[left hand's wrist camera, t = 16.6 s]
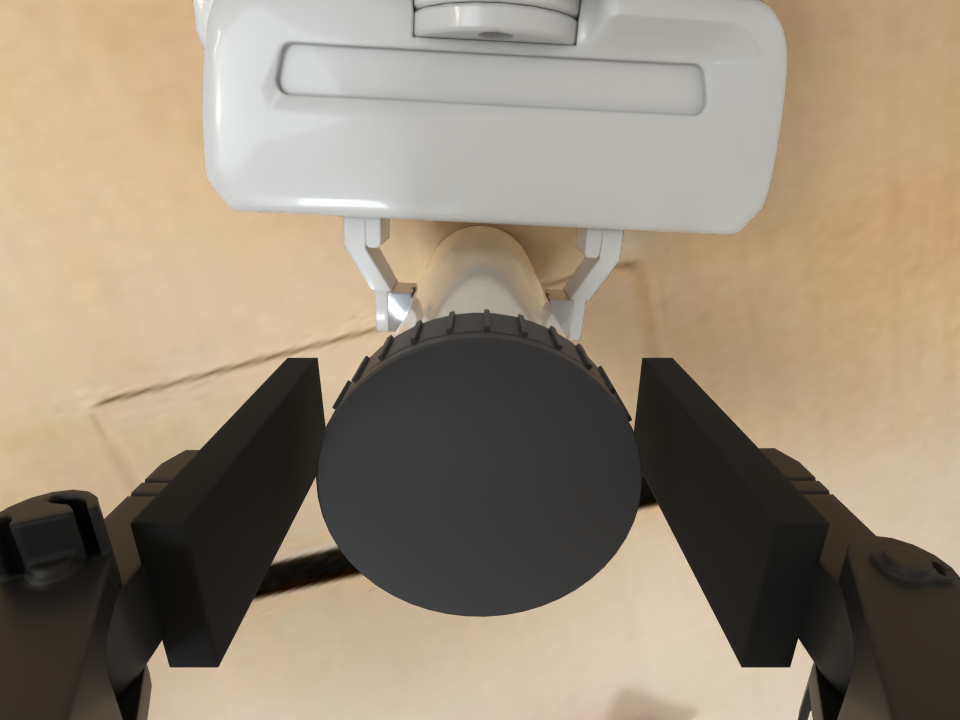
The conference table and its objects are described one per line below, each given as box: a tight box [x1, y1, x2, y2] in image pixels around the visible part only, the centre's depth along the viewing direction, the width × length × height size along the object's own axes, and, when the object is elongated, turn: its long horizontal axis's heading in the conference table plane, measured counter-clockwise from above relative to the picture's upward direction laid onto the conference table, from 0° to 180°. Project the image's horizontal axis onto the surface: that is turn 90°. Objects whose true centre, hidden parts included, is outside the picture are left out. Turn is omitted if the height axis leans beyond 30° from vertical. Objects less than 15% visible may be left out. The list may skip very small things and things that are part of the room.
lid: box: [316, 309, 642, 617], centre depth 11 cm, size 6×6×2 cm
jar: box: [393, 226, 567, 339], centre depth 20 cm, size 6×6×19 cm
